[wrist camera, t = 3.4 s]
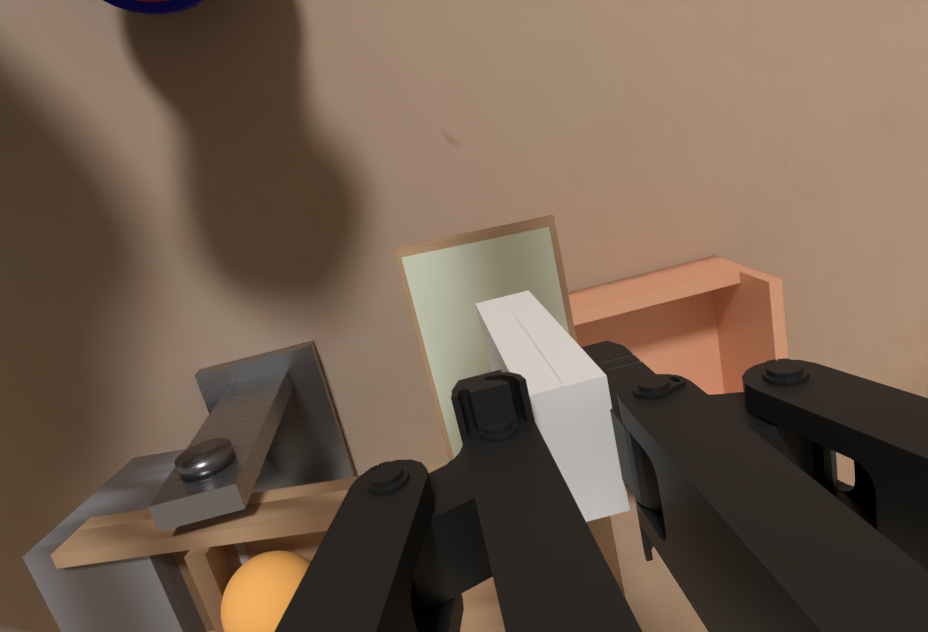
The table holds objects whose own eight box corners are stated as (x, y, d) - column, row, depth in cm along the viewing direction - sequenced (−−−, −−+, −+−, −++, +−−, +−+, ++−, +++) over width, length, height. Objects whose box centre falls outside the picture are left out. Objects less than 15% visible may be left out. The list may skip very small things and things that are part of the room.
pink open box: (563, 452, 36) (596, 511, 30) (533, 302, 33) (563, 335, 27) (732, 407, 36) (796, 457, 31) (714, 255, 34) (781, 278, 28)
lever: (179, 563, 32) (75, 699, 24) (64, 299, 28) (-101, 366, 20) (605, 505, 28) (634, 641, 21) (547, 194, 24) (557, 229, 17)
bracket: (266, 546, 35) (206, 740, 24) (199, 369, 32) (93, 495, 21) (369, 518, 36) (359, 697, 24) (313, 340, 32) (270, 449, 21)
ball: (266, 609, 24) (221, 687, 21) (237, 534, 23) (185, 605, 20) (349, 602, 24) (316, 682, 20) (322, 525, 23) (283, 596, 19)
